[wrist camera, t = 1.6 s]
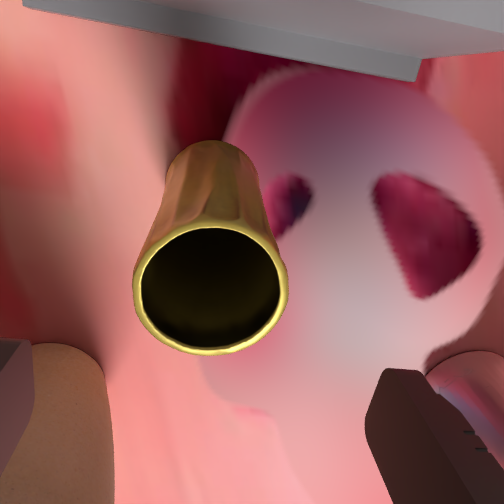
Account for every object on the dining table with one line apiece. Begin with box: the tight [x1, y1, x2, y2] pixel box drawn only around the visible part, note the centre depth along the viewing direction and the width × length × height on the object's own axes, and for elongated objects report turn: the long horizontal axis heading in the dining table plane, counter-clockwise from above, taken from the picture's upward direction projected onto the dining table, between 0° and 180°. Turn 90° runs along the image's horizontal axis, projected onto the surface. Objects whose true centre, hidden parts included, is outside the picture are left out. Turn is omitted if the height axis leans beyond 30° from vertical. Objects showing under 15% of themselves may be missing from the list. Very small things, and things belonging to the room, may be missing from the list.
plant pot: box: [0, 343, 115, 504], centre depth 24 cm, size 15×15×16 cm
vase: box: [132, 140, 289, 356], centre depth 20 cm, size 6×6×14 cm
